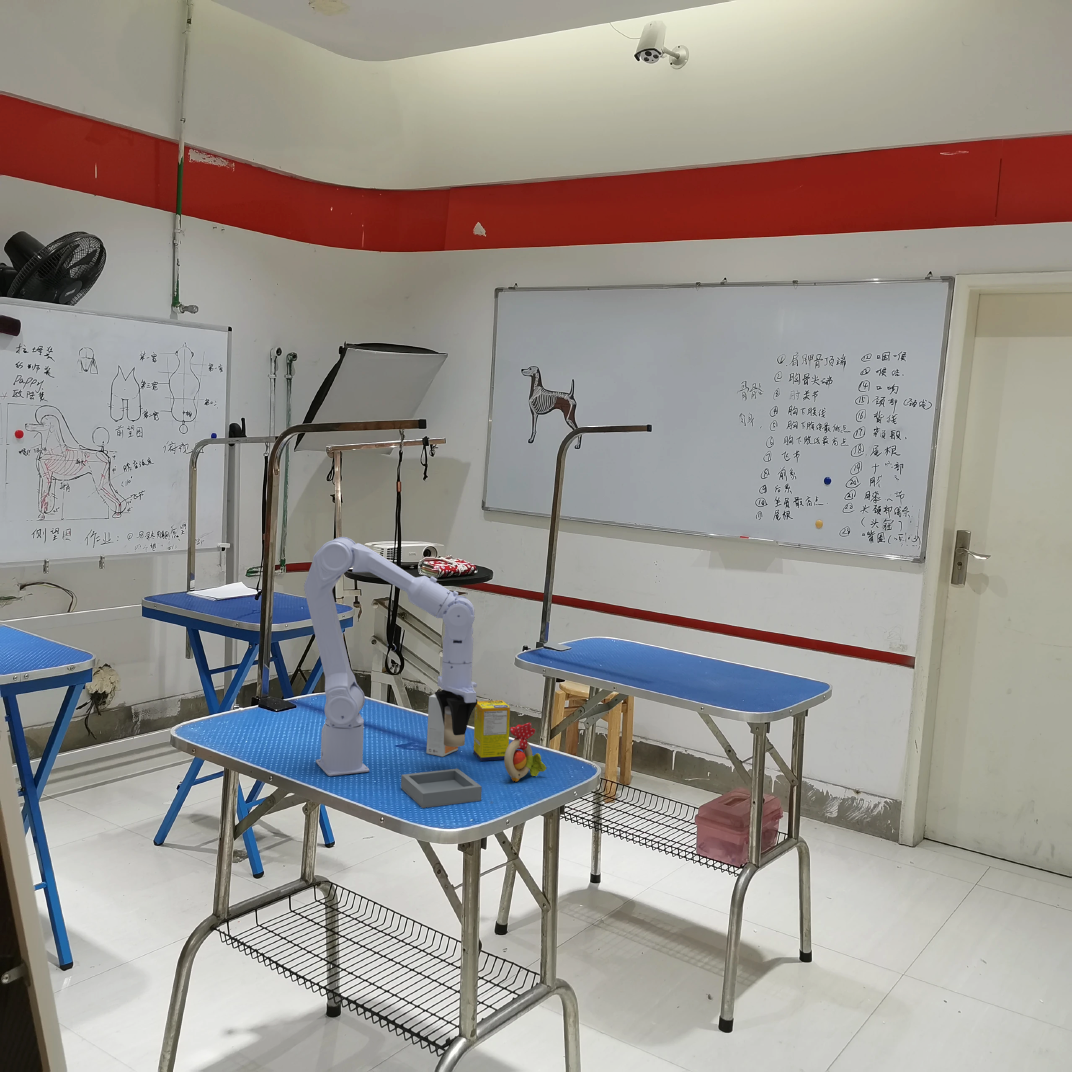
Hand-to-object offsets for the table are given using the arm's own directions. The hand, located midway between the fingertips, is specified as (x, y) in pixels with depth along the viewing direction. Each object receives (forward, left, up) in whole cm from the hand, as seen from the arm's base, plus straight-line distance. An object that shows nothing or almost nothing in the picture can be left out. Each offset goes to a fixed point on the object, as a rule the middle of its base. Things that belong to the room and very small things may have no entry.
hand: (454, 731), depth 192 cm
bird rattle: (+8, +11, -8) cm, 16 cm away
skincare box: (-13, +3, -8) cm, 16 cm away
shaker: (0, 0, -3) cm, 2 cm away
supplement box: (-7, +11, -8) cm, 15 cm away
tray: (+11, -7, -8) cm, 15 cm away
